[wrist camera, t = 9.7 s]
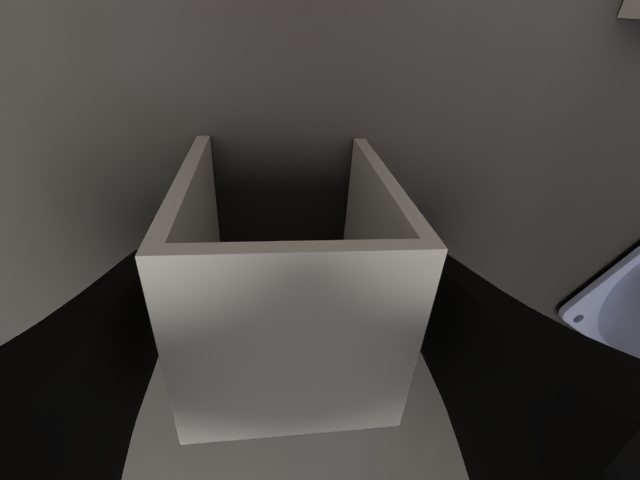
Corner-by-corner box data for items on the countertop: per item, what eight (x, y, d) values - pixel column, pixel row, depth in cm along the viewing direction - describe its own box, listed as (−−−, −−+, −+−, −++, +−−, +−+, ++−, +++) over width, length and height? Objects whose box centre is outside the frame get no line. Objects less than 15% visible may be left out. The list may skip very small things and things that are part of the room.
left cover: (365, 138, 13) (448, 249, 7) (349, 270, 16) (399, 425, 10) (197, 135, 12) (134, 255, 6) (212, 274, 15) (180, 444, 9)
